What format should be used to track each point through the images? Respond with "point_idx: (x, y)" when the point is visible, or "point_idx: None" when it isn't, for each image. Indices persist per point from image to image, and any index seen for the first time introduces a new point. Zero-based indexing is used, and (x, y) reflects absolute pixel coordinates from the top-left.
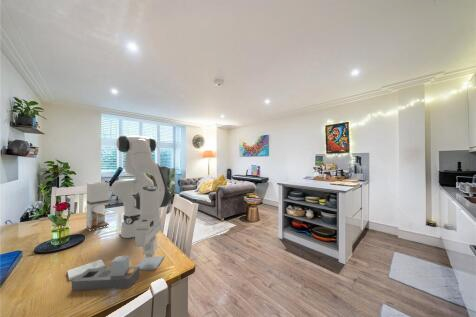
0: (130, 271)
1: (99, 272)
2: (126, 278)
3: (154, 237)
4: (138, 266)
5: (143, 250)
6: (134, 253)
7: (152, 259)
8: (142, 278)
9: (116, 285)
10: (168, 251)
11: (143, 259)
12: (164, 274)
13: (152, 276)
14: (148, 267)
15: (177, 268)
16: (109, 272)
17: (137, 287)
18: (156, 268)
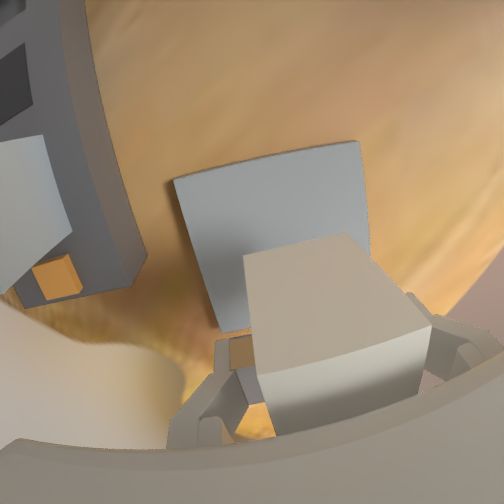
0: (49, 278)
1: (11, 32)
2: (17, 289)
3: (449, 374)
4: (214, 190)
5: (246, 285)
6: (409, 11)
7: None
8: (125, 298)
9: None
10: (443, 269)
11: (324, 156)
12: (195, 383)
13: (159, 340)
14: (217, 280)
15: (257, 409)
16: (13, 105)
17: (68, 317)
18: (228, 328)
